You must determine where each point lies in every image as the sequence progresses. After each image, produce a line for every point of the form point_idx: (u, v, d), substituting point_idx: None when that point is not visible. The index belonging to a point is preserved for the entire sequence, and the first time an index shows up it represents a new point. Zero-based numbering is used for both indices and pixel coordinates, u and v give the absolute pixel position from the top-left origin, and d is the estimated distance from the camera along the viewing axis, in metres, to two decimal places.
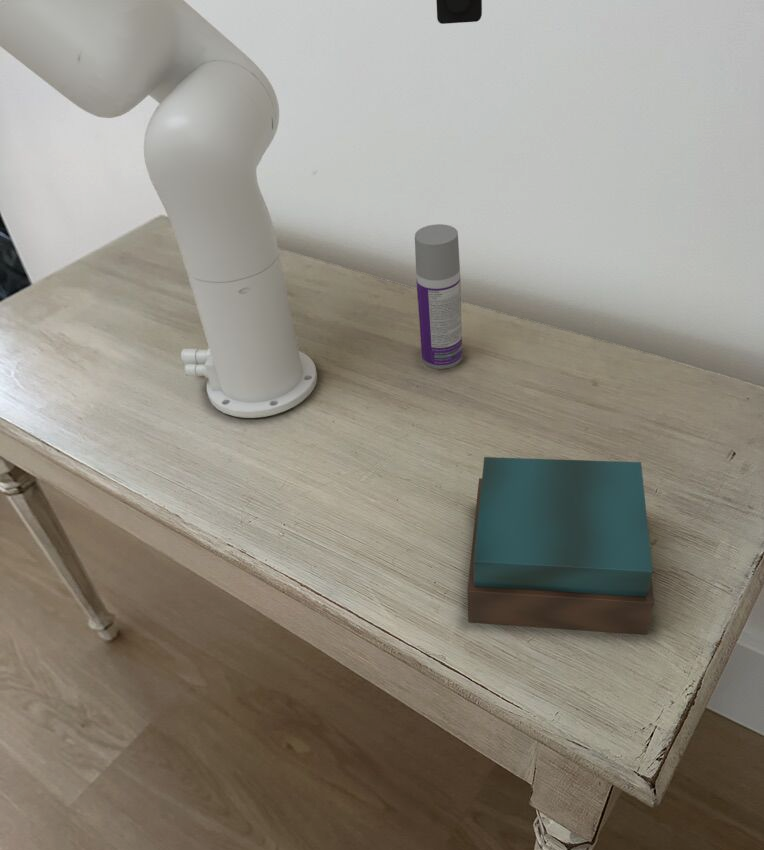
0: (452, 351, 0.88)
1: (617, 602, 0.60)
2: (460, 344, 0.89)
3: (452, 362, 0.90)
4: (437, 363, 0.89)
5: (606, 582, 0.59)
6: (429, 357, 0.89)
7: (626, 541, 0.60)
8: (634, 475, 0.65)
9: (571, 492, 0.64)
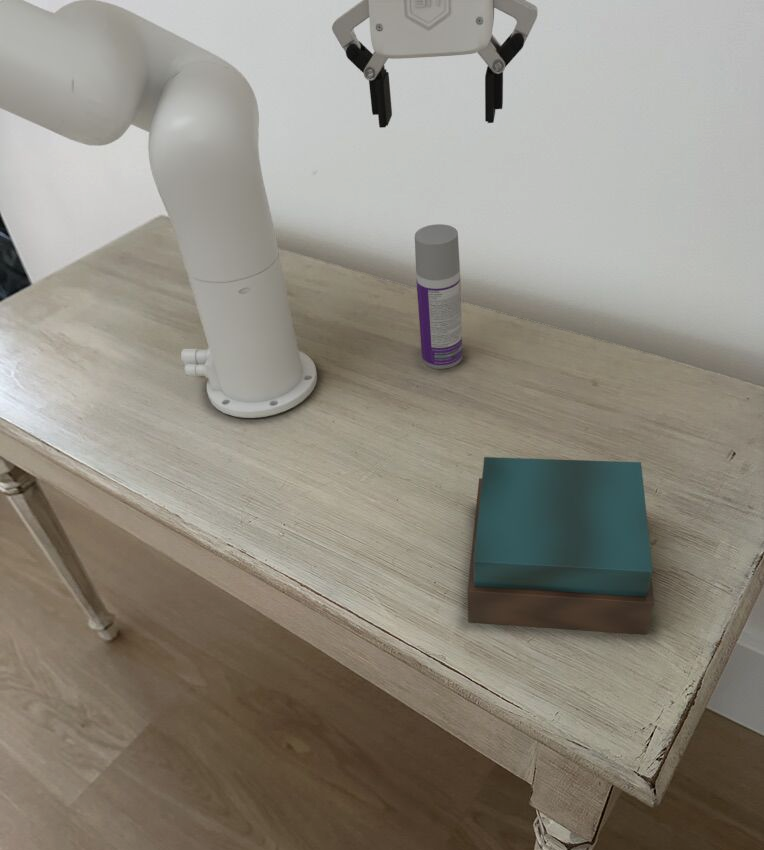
0: (452, 351, 0.88)
1: (617, 602, 0.60)
2: (460, 344, 0.89)
3: (452, 362, 0.90)
4: (437, 363, 0.89)
5: (606, 582, 0.59)
6: (429, 357, 0.89)
7: (626, 541, 0.60)
8: (634, 475, 0.65)
9: (571, 492, 0.64)
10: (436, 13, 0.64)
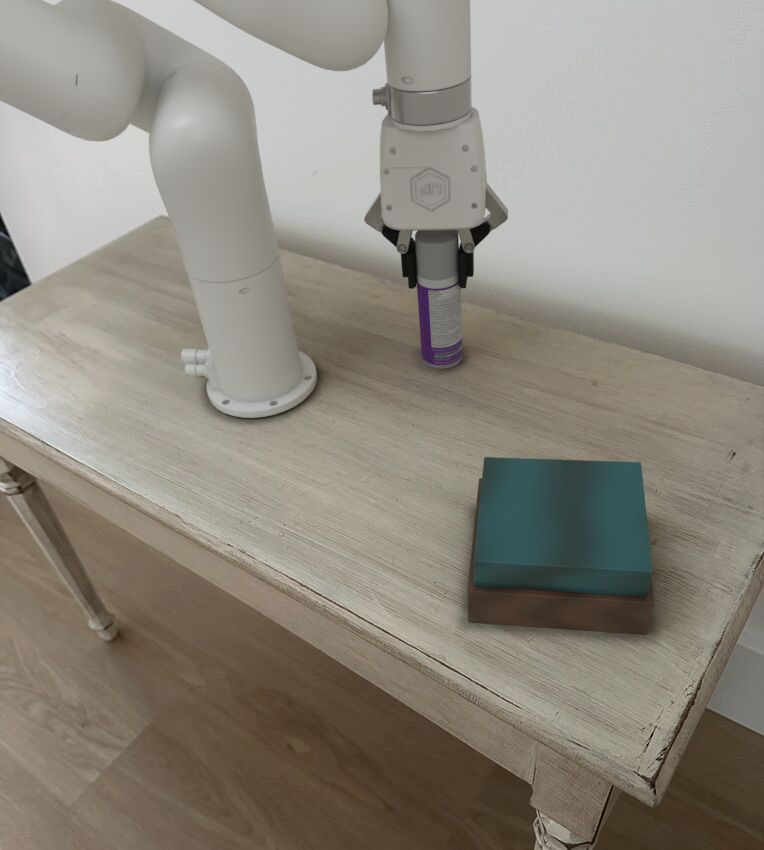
0: (452, 351, 0.88)
1: (617, 602, 0.60)
2: (460, 344, 0.89)
3: (452, 362, 0.90)
4: (437, 363, 0.89)
5: (606, 582, 0.59)
6: (429, 357, 0.89)
7: (626, 541, 0.60)
8: (634, 475, 0.65)
9: (571, 492, 0.64)
10: (438, 199, 0.75)
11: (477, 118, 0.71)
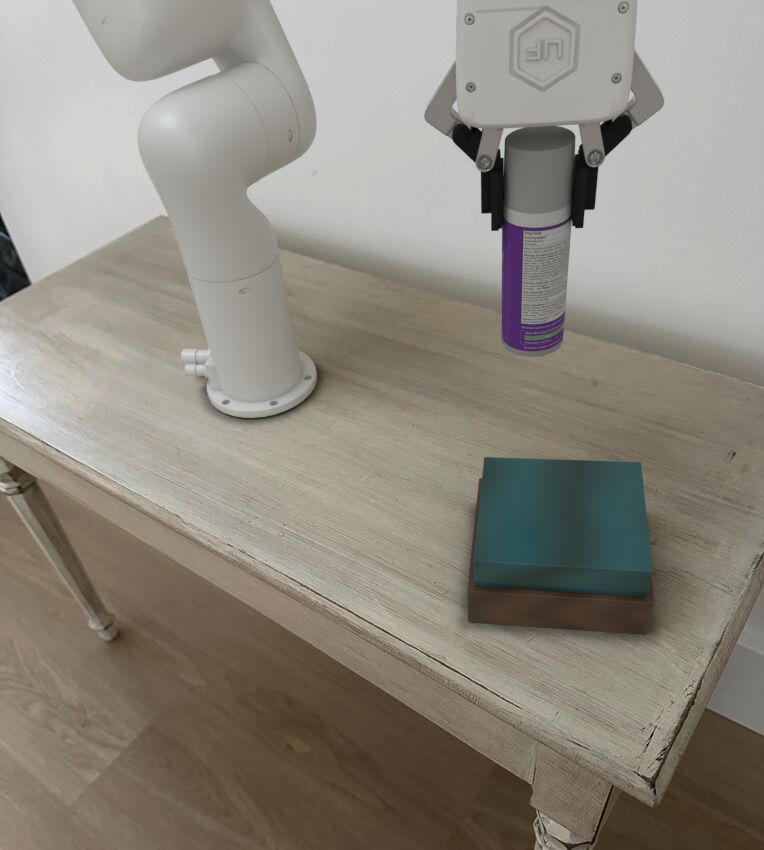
0: (552, 330, 0.58)
1: (617, 602, 0.60)
2: (563, 319, 0.58)
3: (550, 347, 0.59)
4: (528, 348, 0.59)
5: (606, 582, 0.59)
6: (516, 339, 0.59)
7: (626, 541, 0.60)
8: (634, 475, 0.65)
9: (571, 492, 0.64)
10: (555, 68, 0.45)
11: None
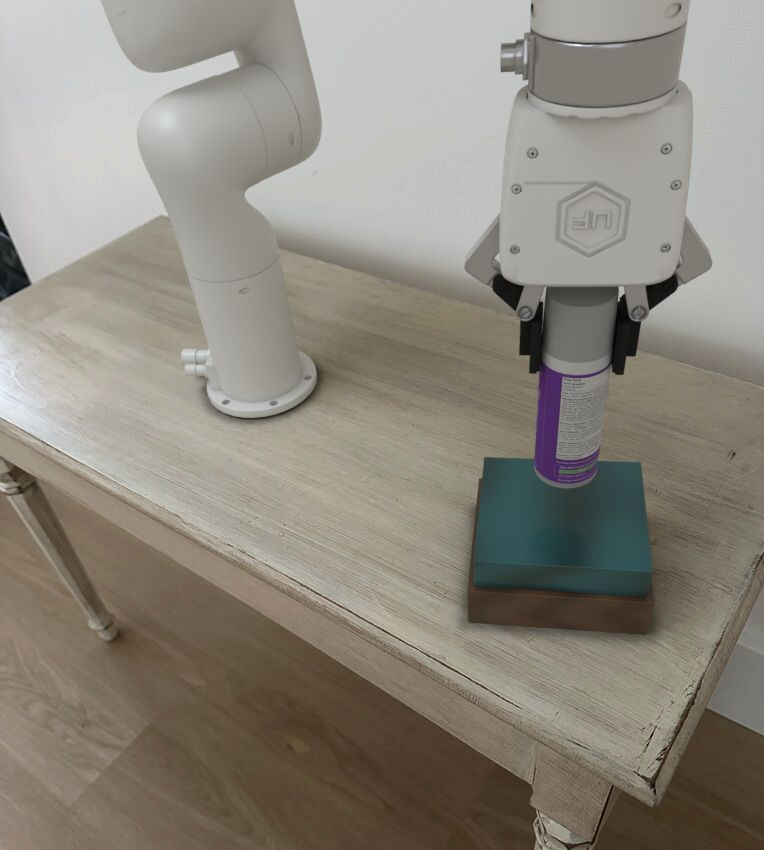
0: (587, 464, 0.57)
1: (617, 602, 0.60)
2: (598, 452, 0.57)
3: (584, 479, 0.58)
4: (562, 481, 0.58)
5: (606, 582, 0.59)
6: (550, 471, 0.58)
7: (626, 541, 0.60)
8: (634, 475, 0.65)
9: (571, 492, 0.64)
10: (603, 237, 0.44)
11: (690, 95, 0.40)
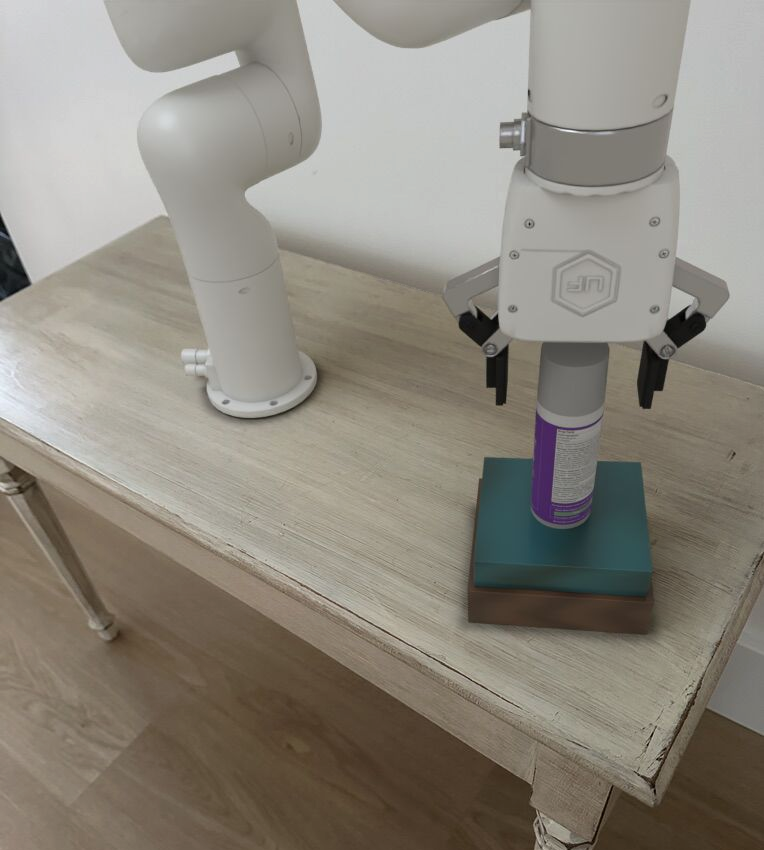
0: (581, 507, 0.60)
1: (617, 602, 0.60)
2: (592, 495, 0.61)
3: (579, 520, 0.61)
4: (557, 522, 0.61)
5: (606, 582, 0.59)
6: (545, 513, 0.61)
7: (626, 541, 0.60)
8: (634, 475, 0.65)
9: None
10: (595, 299, 0.47)
11: (677, 172, 0.43)
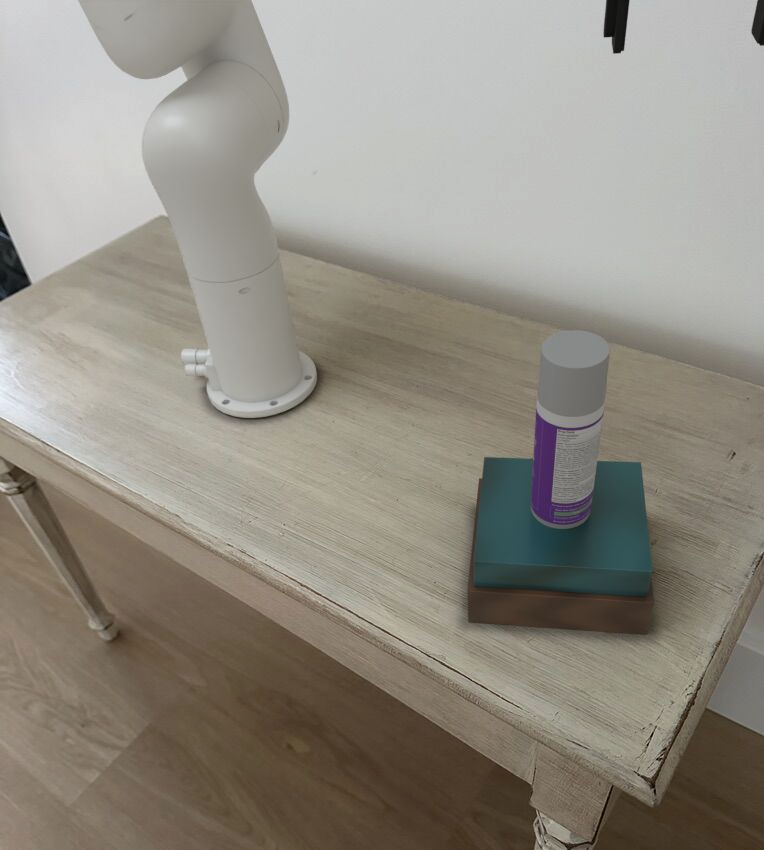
0: (581, 507, 0.60)
1: (617, 602, 0.60)
2: (592, 495, 0.61)
3: (579, 520, 0.61)
4: (557, 522, 0.61)
5: (606, 582, 0.59)
6: (545, 513, 0.61)
7: (626, 541, 0.60)
8: (634, 475, 0.65)
9: None
10: None
11: None
